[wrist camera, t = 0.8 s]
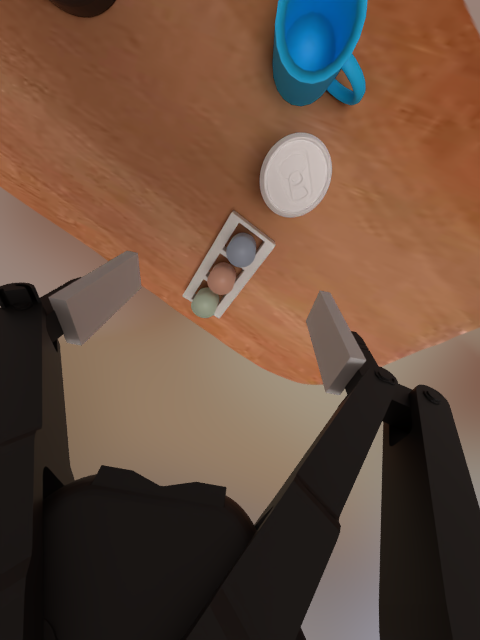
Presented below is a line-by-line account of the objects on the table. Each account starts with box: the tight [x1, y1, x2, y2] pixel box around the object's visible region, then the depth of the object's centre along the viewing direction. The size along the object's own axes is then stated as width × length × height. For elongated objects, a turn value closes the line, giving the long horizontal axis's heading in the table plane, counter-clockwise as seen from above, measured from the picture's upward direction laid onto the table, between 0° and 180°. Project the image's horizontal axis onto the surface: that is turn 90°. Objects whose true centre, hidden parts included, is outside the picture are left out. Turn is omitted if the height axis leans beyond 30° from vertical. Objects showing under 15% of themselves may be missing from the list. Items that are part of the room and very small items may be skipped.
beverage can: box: [260, 133, 332, 217], centre depth 28 cm, size 8×8×12 cm
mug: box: [273, 0, 367, 106], centre depth 23 cm, size 12×8×8 cm
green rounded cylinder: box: [191, 288, 219, 318], centre depth 41 cm, size 5×5×4 cm
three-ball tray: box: [183, 211, 276, 318], centre depth 41 cm, size 9×19×2 cm, turn 146°
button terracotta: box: [207, 262, 236, 295], centre depth 38 cm, size 5×5×4 cm
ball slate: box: [226, 233, 256, 268], centre depth 35 cm, size 5×5×4 cm
